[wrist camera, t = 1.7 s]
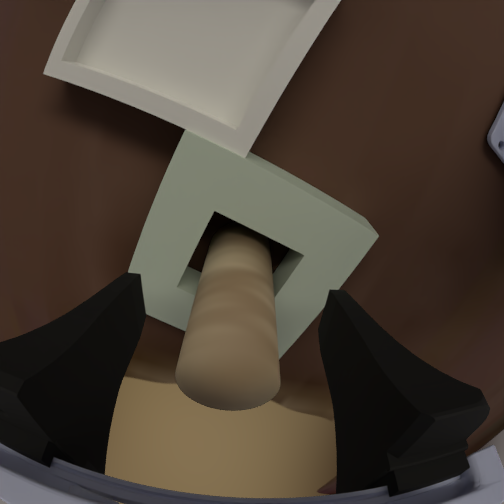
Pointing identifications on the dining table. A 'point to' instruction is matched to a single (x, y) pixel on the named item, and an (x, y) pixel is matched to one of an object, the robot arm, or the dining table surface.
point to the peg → (232, 325)
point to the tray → (191, 58)
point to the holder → (255, 217)
